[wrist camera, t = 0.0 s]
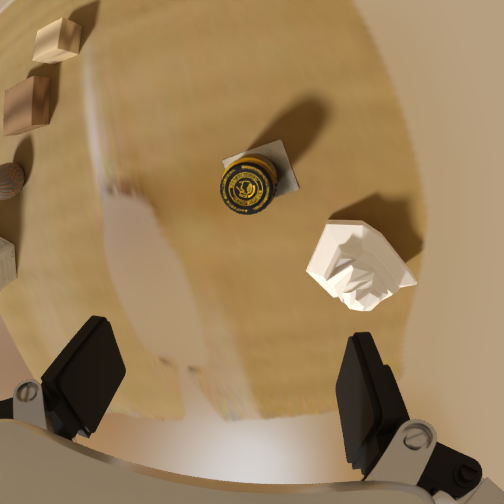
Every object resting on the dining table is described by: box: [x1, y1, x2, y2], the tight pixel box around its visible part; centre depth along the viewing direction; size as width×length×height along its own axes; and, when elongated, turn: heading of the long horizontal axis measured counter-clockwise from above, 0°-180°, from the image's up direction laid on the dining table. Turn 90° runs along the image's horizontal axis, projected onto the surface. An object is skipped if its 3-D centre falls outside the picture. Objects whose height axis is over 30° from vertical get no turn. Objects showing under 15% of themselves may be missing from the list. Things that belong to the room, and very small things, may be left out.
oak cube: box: [33, 18, 82, 64], centre depth 28 cm, size 6×6×6 cm
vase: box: [0, 163, 24, 200], centre depth 36 cm, size 7×7×9 cm
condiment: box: [220, 139, 299, 215], centre depth 32 cm, size 7×8×12 cm
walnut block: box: [4, 75, 51, 136], centre depth 32 cm, size 9×9×5 cm
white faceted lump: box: [306, 220, 417, 311], centre depth 36 cm, size 12×15×14 cm
